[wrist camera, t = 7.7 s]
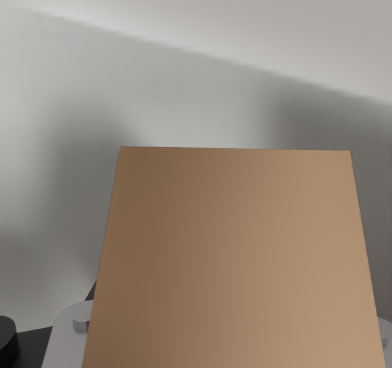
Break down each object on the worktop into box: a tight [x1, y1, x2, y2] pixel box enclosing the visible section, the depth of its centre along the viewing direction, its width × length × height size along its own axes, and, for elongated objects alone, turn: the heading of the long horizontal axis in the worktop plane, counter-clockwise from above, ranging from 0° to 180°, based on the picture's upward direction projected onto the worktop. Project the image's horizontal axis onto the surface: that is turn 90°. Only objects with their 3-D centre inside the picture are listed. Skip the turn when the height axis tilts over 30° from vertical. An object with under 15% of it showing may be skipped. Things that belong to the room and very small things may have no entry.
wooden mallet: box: [81, 146, 386, 368], centre depth 9 cm, size 10×5×10 cm, turn 87°
